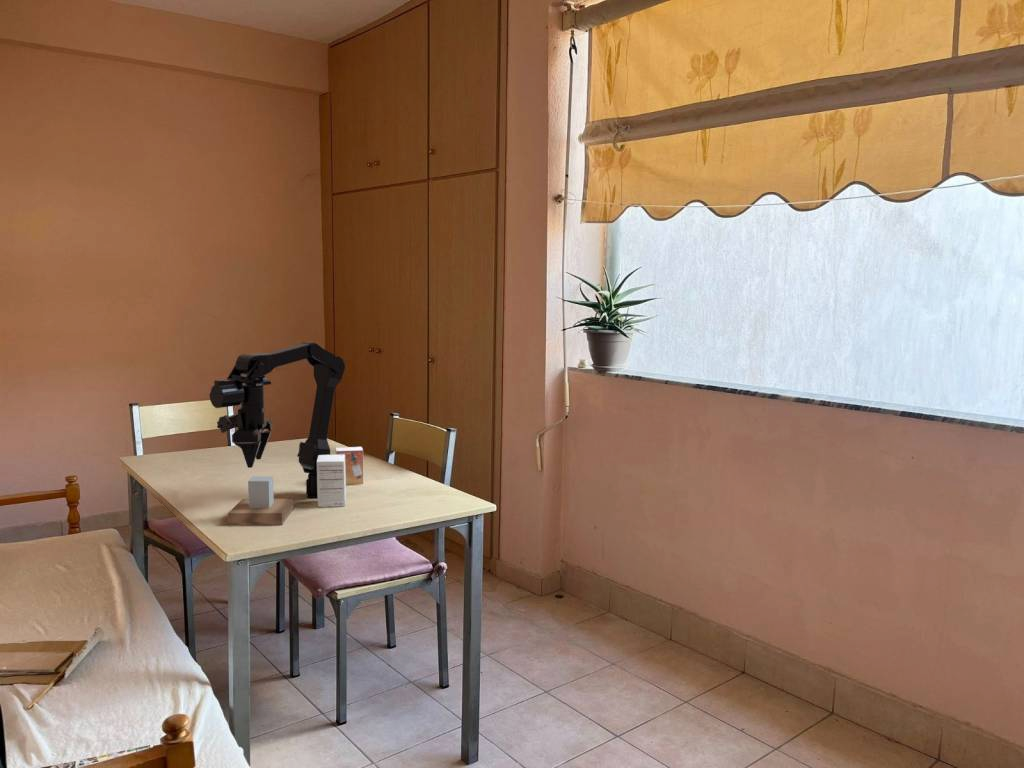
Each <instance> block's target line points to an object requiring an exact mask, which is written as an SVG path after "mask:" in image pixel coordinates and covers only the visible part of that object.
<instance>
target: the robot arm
mask: <svg viewBox="0 0 1024 768" xmlns="http://www.w3.org/2000/svg"><path fill="white" fill-rule="evenodd" d="M302 360H305V361H306V362H307V363H308V364H309V365H310V366H311V367H312V368H313V377H314V381H315V384H316V390H315V396H314V403H313V409H312V416H311V421H310V428H309V433H308V437H307V439H306V440H305V441H304V442H303V441H300V442H299V444H298V445H299V446H298V452H297V455H296V456H297V457H298V464H300V467H302V470H303V473H305V474H307V478H306V479H305V491H306V493H305V494H306V498H307V499H308V498H309V499H310V498H311V499H313V498H314V499H315V498H317V499H318V496H317V458H318V455H331V448H330V447H331V446H330V445H329V442H328V435H329V427H330V422H331V417H332V416H331V415H332V409H333V405H334V398H335V397H334V396H335V390H336V388H337V386H338V385H339V384H340V382H341V381H342V379H343V377H344V373H345V369H346V363H345V361H344V359H343V358H342V357H341V356H339V355H335V354H334V353H332V352H330V351H328V350H326V349H324V348H323V347H322V346H320V345H319V344H318V343H317V342H312V341H303V342H301V343H299V344H295V345H291V346H287V347H284V348H280V349H277V350H273V351H269V352H253V353H252V352H251V353H249V352H248V353H242V354H239V355H238V356H237V358H236V361H235V364H234V366H233V368H232V369H231V371H230V373H229V375H228V376H227V378H226V379H224V380H222V379H216V380H214V382H213V384H214V385H212V387H211V388H210V392H209V401H210V403H211V405H212V407H214V408H215V409H221V408H228V407H235V406H236V407H238V406H240V407H239V408H238V409H237V413H234V414H231V415H229V416H228V415H227V414H225V415H223V416H219V417H218V421H217V422H216V423H217V426H216V428H217V429H219V430H220V433H221V434H224V433H226V432H227V431H230V430H232V429H235V428H236V430H235V431H234V432H233V433H232V434H231V443H233V444H234V445H235V446H237V447H239V448H240V449H241V451H242V455H243V456H244V457H243V458H244V461H245V463H246V466H247V468H250V469H251V468H253V467H254V463H255V460H261V459H262V456H263V454H264V451H265V449H266V446H267V444H268V441H269V439H270V436H271V434H272V430H274V421H272V420H271V419H270V418H266V417H265V415H266V414H265V411H267V405H265V391H264V390H265V388H264V386H267V385H269V386H270V385H271V384H272V381H270V380H269V379H268V378H267V377H266V375H268V374H270V373H272V371H274V370H275V369H276V368H279V367H282V366H286V365H289V364H292V363H296V362H300V361H302Z"/></svg>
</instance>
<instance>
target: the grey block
mask: <svg viewBox="0 0 1024 768" xmlns="http://www.w3.org/2000/svg"><path fill="white" fill-rule="evenodd" d="M247 483H248V484H247V487H248V499H249V509H252V508H270V507H271V506H272V504H273V503H274V499H275V498H274V497H275V496H274V476H273V475H272V476H271V475H267V476H266V475H265V476H264V475H261V476H260V475H259V476H258V475H256V476H255V475H254V476H252V477H251V478H250V479H249V480H248V481H247Z"/></svg>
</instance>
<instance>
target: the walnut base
mask: <svg viewBox="0 0 1024 768" xmlns="http://www.w3.org/2000/svg"><path fill="white" fill-rule="evenodd" d="M293 511H294V498H274V503H273V504H272V506H271V507H270V508H252V509H249V498H242V499H240V501H239V502H237V503H236V504H235V506H234V507H233V508H231V509H230V510H229V511H228V513H227V525H228V526H283V524H284V523H285V522H286V521H287V519H288V518H289V517H290V515H291V514H292V512H293Z"/></svg>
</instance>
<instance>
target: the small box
mask: <svg viewBox="0 0 1024 768" xmlns="http://www.w3.org/2000/svg"><path fill="white" fill-rule="evenodd" d="M334 449H335V450H334V451H335V452H334V455H338V454H342V455H345V474H346V486H351V485H352V486H354V485H357V486H358V485H359V484H363V485H364V449H363V447H362V446H350V447H335V448H334Z"/></svg>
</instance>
